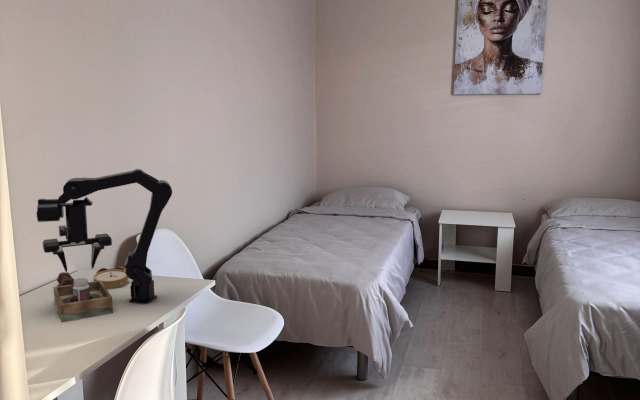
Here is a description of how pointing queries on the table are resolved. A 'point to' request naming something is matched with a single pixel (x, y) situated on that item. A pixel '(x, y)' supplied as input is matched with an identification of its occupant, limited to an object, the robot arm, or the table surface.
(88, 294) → the pill bottle
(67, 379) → the table surface
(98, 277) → the alarm clock
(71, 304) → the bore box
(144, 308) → the table surface
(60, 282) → the brown tall rounded piece
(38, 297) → the table surface
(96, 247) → the robot arm
